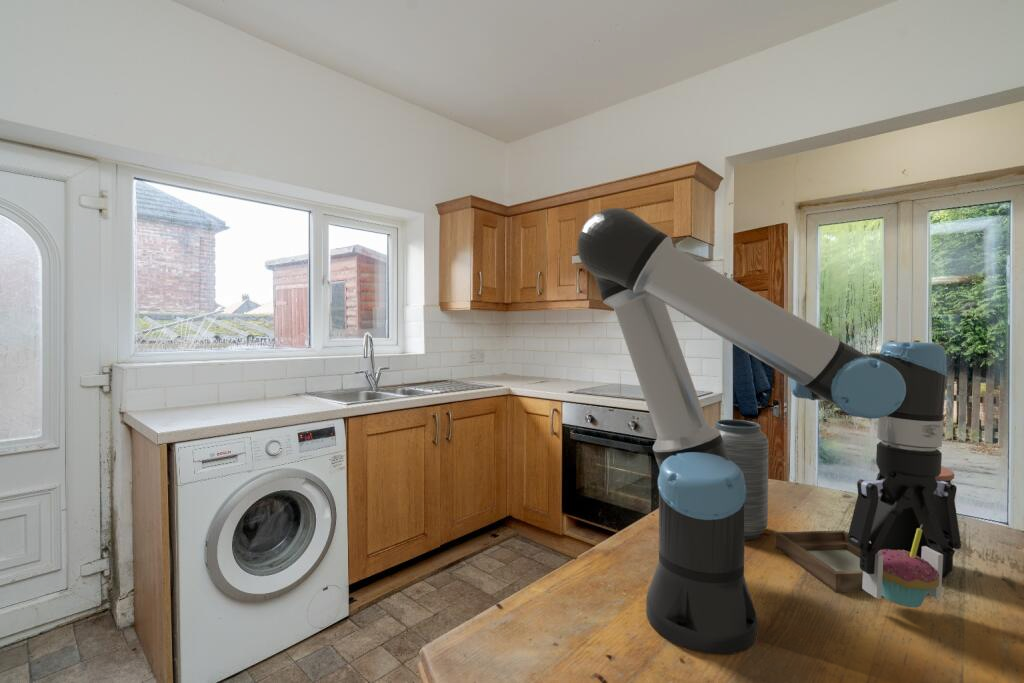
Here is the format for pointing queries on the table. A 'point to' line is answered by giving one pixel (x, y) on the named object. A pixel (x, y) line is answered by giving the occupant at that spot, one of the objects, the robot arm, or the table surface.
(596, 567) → the table surface
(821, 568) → the walled box
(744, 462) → the vase
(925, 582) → the cupcake
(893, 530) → the coffee jar
